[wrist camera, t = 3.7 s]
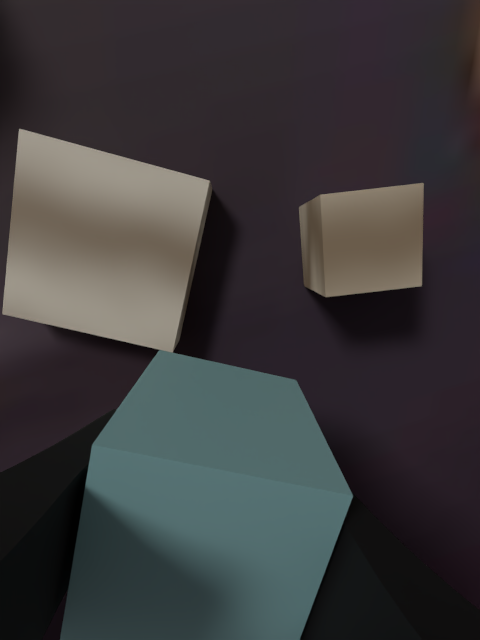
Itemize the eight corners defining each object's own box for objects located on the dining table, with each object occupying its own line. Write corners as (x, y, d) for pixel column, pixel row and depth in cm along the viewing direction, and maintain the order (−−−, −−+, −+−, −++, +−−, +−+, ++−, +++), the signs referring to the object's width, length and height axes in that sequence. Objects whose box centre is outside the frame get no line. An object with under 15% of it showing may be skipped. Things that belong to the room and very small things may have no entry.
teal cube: (261, 495, 11) (283, 681, 6) (135, 471, 11) (58, 648, 6) (296, 380, 10) (352, 495, 6) (159, 349, 10) (91, 444, 5)
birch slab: (180, 338, 18) (172, 352, 15) (34, 304, 17) (2, 314, 15) (212, 190, 16) (209, 180, 14) (52, 147, 16) (19, 128, 13)
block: (377, 277, 17) (421, 286, 13) (303, 285, 17) (325, 297, 13) (376, 198, 16) (423, 182, 12) (298, 207, 16) (320, 194, 12)
